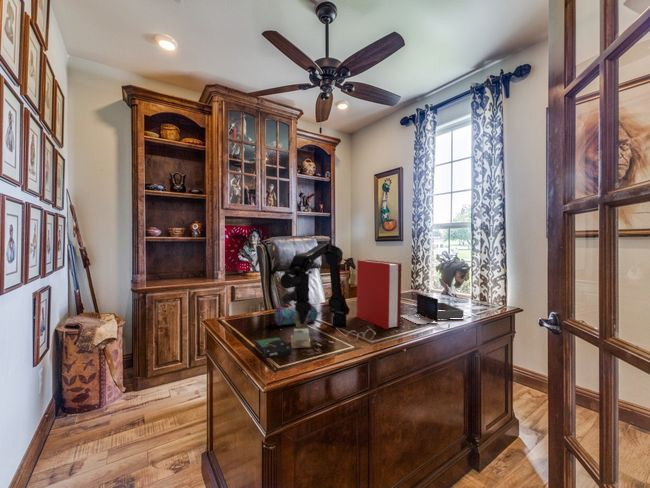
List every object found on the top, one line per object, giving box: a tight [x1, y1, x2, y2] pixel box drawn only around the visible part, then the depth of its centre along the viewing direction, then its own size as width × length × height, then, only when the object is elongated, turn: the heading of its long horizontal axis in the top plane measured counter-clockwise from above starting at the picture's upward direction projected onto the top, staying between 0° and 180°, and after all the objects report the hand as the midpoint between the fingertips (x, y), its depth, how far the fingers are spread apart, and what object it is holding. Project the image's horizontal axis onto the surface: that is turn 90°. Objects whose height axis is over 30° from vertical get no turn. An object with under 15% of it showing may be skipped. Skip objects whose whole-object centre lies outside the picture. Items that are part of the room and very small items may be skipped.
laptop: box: [401, 292, 439, 325], centre depth 163 cm, size 18×12×13 cm
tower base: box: [290, 334, 311, 349], centre depth 123 cm, size 8×8×3 cm
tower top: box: [293, 328, 310, 341], centre depth 123 cm, size 6×6×3 cm
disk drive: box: [255, 336, 293, 359], centre depth 117 cm, size 10×3×15 cm
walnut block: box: [295, 311, 308, 328], centre depth 123 cm, size 4×4×6 cm
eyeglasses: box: [333, 323, 377, 342], centre depth 137 cm, size 16×19×5 cm
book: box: [356, 259, 402, 330], centre depth 158 cm, size 27×8×32 cm, turn 30°
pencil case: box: [274, 304, 318, 326], centre depth 153 cm, size 21×9×10 cm, turn 119°
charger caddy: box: [438, 302, 464, 319], centre depth 173 cm, size 18×21×5 cm
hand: (301, 322), depth 123 cm, fingers closed on walnut block, 4 cm apart
